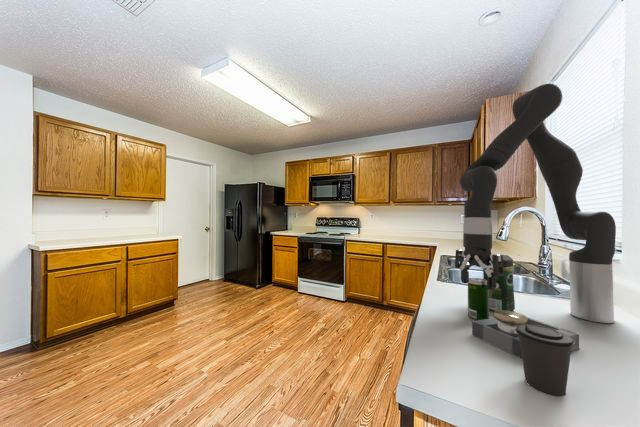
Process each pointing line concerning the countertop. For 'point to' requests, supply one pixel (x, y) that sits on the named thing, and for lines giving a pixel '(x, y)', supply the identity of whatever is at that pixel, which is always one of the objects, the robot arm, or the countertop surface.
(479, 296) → the green metal cylinder
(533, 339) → the coffee cup
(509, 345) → the grey rectangular frame
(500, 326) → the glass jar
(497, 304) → the coffee jar
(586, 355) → the countertop surface
